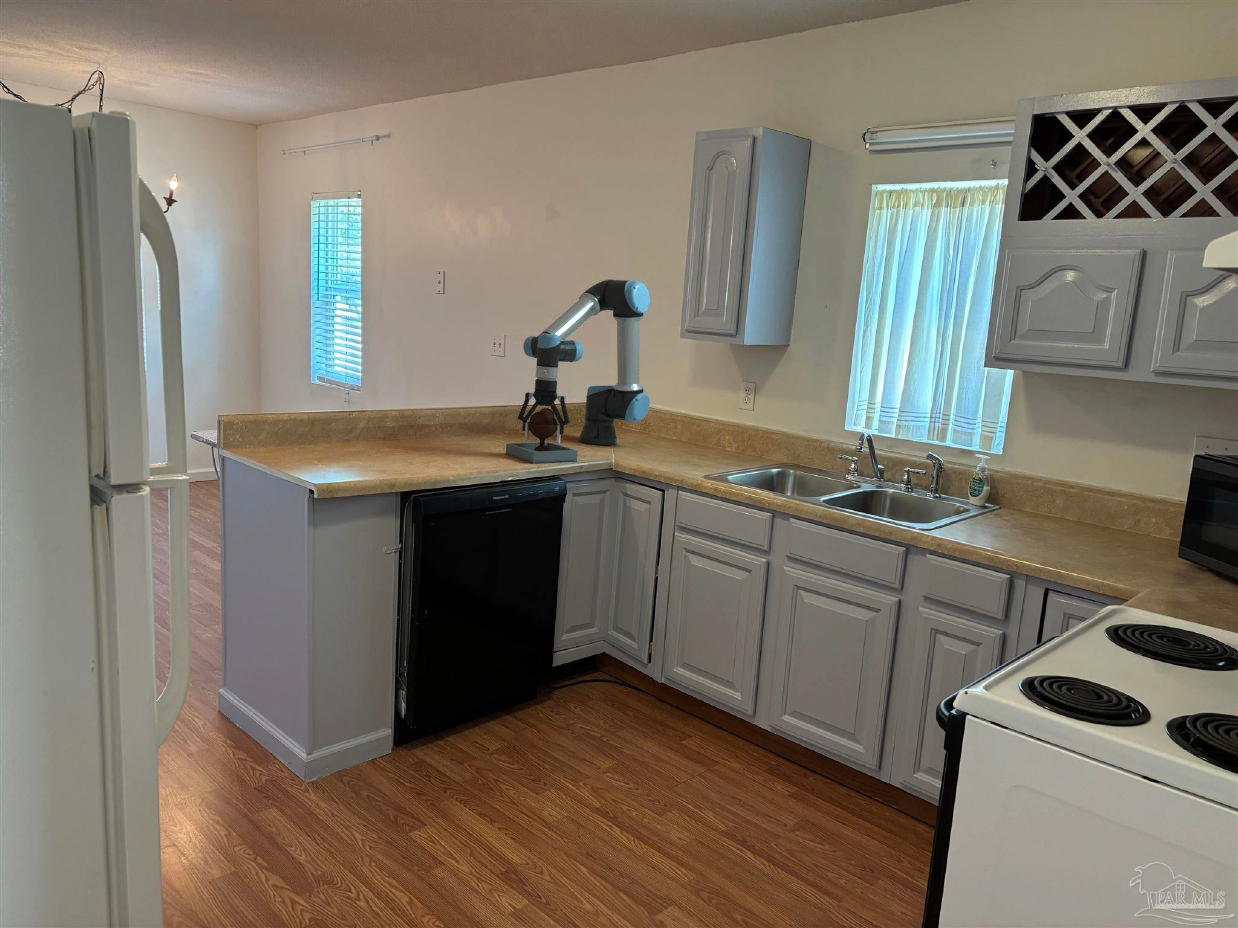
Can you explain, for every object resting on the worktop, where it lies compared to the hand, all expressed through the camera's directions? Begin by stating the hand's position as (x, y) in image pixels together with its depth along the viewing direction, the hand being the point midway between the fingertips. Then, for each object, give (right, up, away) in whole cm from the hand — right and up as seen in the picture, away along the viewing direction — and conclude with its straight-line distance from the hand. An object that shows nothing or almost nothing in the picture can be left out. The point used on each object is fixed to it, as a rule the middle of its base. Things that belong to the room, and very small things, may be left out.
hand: (542, 442), depth 307 cm
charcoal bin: (0, -6, +1) cm, 6 cm away
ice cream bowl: (0, -3, 0) cm, 3 cm away
